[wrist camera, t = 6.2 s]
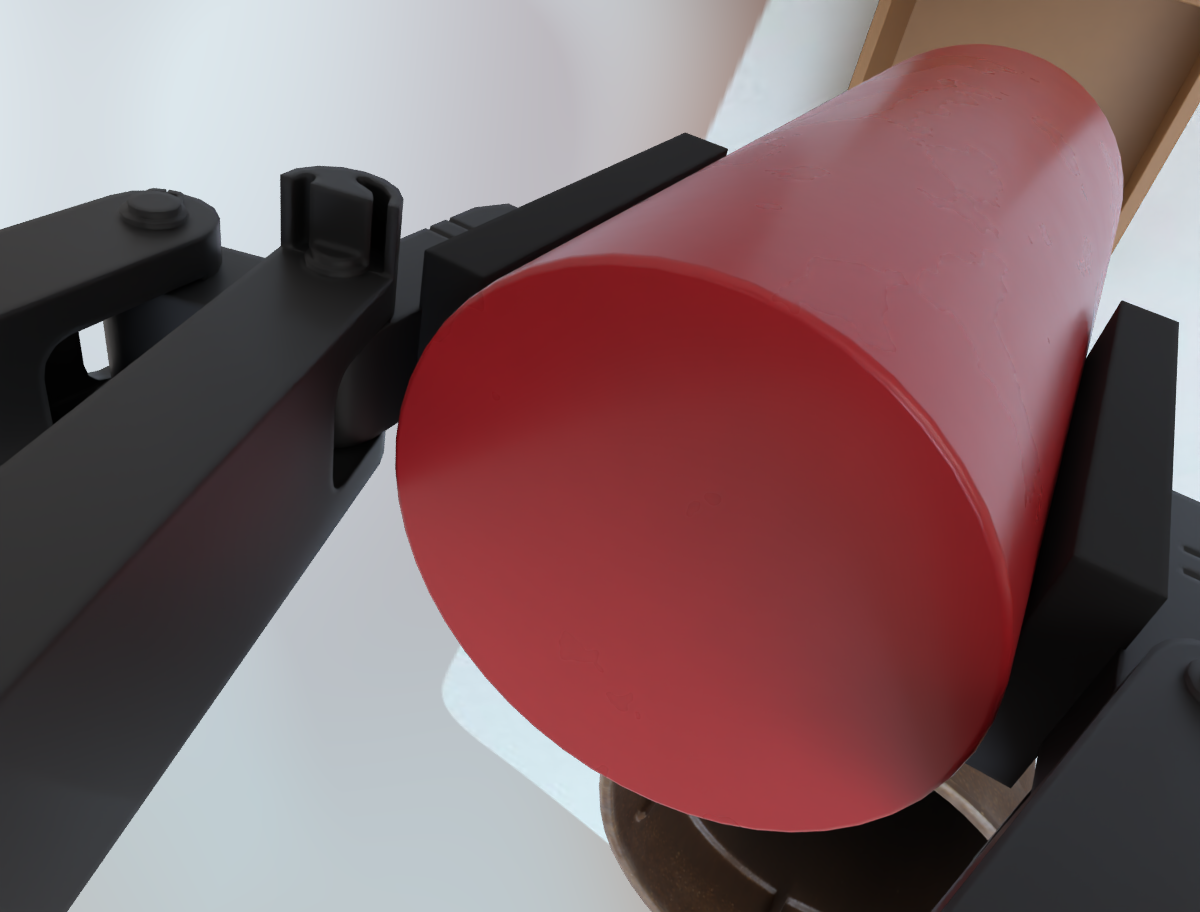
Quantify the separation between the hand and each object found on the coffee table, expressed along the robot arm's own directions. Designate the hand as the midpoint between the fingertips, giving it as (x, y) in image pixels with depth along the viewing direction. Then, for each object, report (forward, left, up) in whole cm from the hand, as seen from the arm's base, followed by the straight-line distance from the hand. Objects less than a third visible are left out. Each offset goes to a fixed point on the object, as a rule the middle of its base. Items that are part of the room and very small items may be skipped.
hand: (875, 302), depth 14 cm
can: (0, 0, -6) cm, 6 cm away
